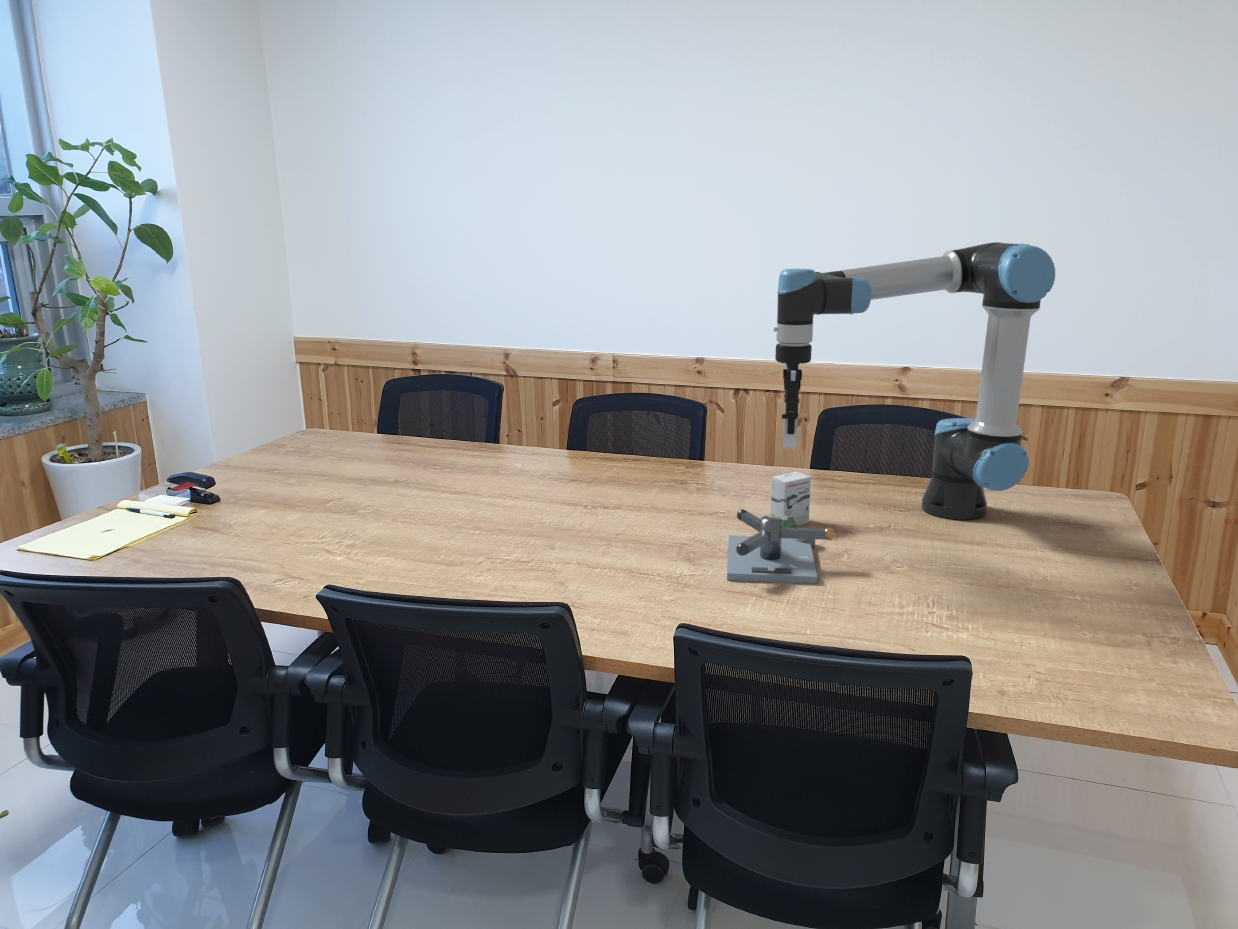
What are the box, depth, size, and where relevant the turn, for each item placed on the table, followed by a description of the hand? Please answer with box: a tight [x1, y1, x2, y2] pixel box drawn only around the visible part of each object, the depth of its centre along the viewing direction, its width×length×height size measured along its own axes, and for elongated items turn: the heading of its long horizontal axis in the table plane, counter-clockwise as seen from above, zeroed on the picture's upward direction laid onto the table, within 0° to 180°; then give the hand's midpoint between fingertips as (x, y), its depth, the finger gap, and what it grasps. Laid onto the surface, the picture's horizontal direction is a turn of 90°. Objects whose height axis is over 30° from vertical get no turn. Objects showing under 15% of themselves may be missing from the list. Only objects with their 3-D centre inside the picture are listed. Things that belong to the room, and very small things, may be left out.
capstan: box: [736, 508, 836, 560], centre depth 192 cm, size 21×23×9 cm
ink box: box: [770, 471, 812, 528], centre depth 216 cm, size 9×5×12 cm, turn 123°
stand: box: [726, 534, 818, 585], centre depth 195 cm, size 19×23×3 cm
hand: (789, 440), depth 199 cm, fingers open, 13 cm apart
